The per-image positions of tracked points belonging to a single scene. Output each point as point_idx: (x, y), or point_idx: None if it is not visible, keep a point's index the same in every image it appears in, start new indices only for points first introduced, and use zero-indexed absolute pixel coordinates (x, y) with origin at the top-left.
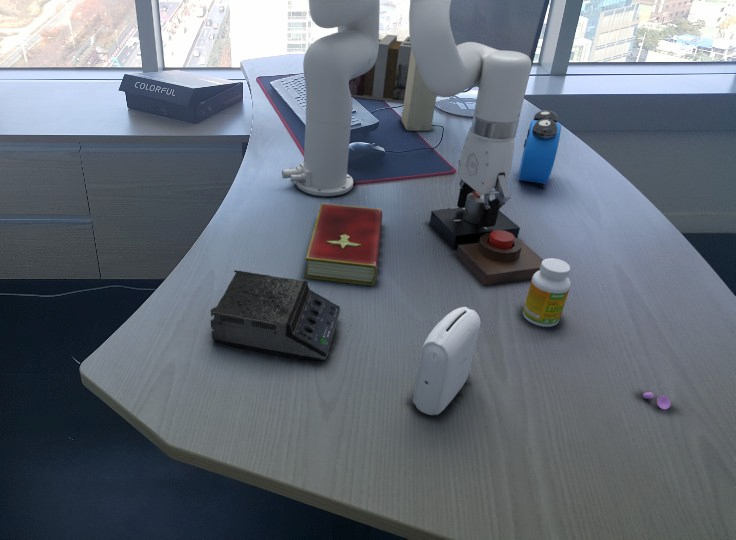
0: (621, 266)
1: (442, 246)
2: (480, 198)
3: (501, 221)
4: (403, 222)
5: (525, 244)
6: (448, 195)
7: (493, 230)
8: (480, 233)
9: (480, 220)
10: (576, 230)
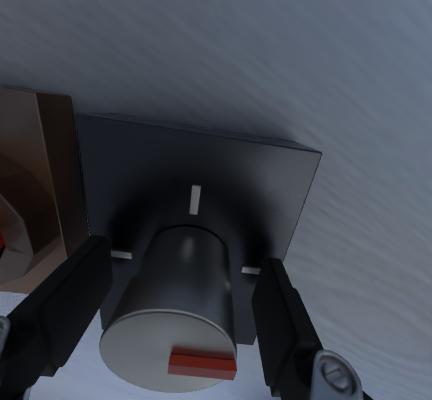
0: None
1: (142, 88)
2: (153, 356)
3: None
4: (366, 47)
5: None
6: (395, 292)
7: None
8: (89, 220)
9: (78, 252)
10: None
